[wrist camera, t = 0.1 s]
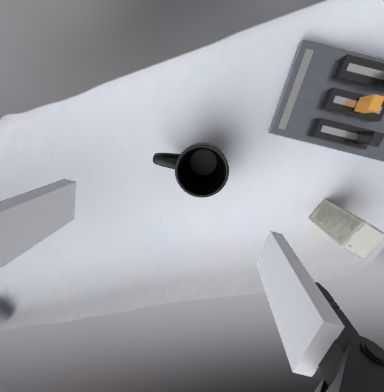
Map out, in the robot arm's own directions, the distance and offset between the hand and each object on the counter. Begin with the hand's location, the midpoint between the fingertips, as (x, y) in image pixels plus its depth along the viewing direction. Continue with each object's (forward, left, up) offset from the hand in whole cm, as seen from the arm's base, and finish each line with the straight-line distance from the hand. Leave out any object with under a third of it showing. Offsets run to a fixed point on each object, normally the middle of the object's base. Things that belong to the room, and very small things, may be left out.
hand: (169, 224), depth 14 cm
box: (+4, +28, -28) cm, 40 cm away
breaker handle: (-15, +23, -25) cm, 37 cm away
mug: (0, 0, -28) cm, 28 cm away
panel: (-15, +23, -28) cm, 39 cm away
